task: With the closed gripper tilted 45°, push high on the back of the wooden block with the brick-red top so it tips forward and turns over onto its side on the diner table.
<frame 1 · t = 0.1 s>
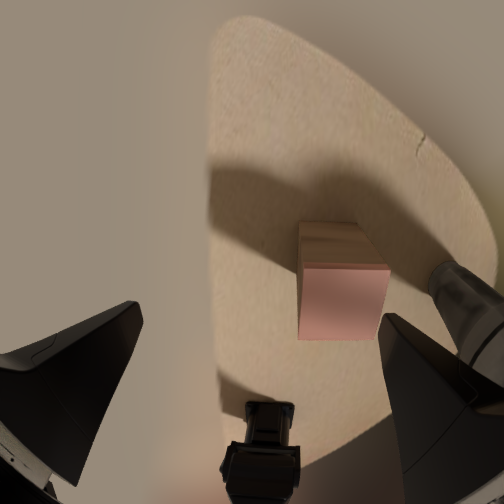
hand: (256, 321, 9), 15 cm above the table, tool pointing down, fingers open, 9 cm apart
beverage cup: (444, 280, 23), on the table
wooden block: (326, 249, 23), on the table
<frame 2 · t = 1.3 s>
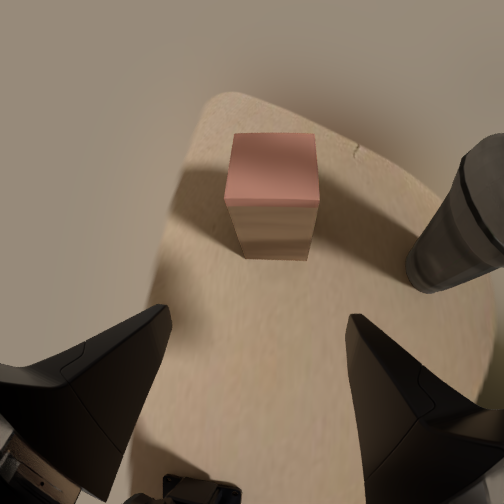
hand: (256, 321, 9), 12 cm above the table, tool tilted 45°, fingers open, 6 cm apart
beverage cup: (425, 269, 21), on the table
wooden block: (277, 232, 23), on the table
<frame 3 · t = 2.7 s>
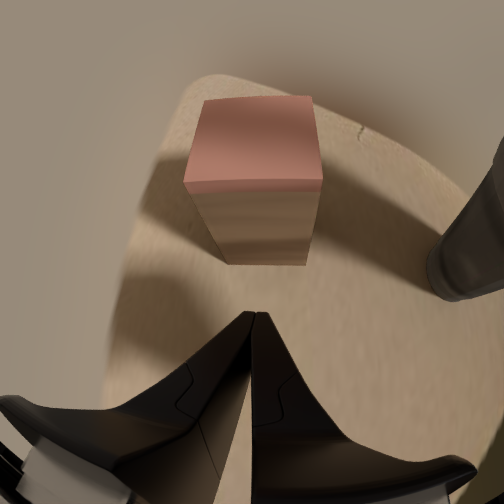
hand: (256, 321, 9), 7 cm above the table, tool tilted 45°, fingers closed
beverage cup: (449, 272, 16), on the table
wooden block: (267, 229, 19), on the table
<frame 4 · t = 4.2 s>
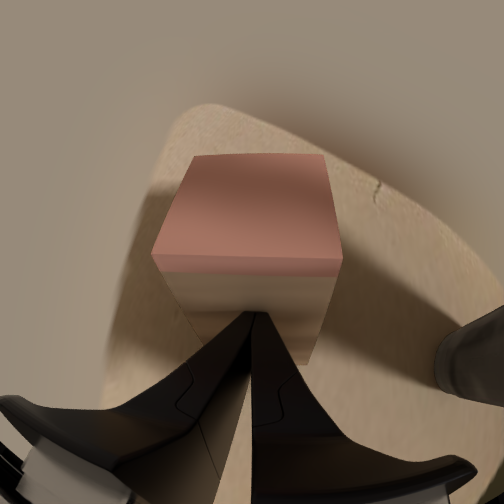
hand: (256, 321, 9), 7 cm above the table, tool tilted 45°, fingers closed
beverage cup: (457, 362, 13), on the table
wooden block: (263, 322, 15), point 1 cm above the table, tilted 17°
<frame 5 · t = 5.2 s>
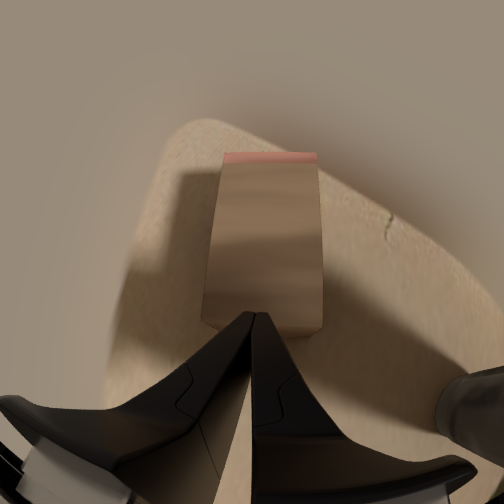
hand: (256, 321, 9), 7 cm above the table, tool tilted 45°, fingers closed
beverage cup: (458, 406, 12), on the table
wooden block: (264, 331, 13), point 2 cm above the table, tilted 90°
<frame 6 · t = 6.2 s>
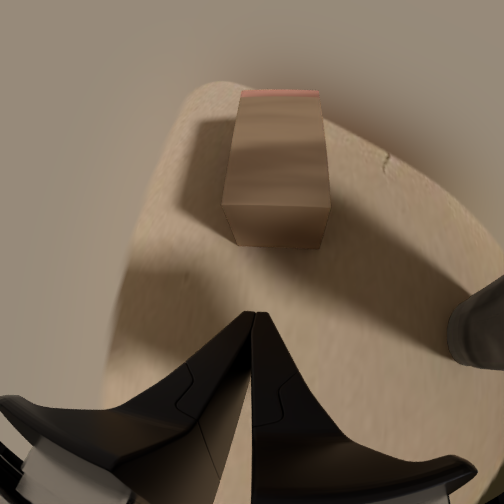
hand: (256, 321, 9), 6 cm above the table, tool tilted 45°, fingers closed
beverage cup: (469, 333, 13), on the table
wooden block: (277, 229, 15), point 2 cm above the table, tilted 90°
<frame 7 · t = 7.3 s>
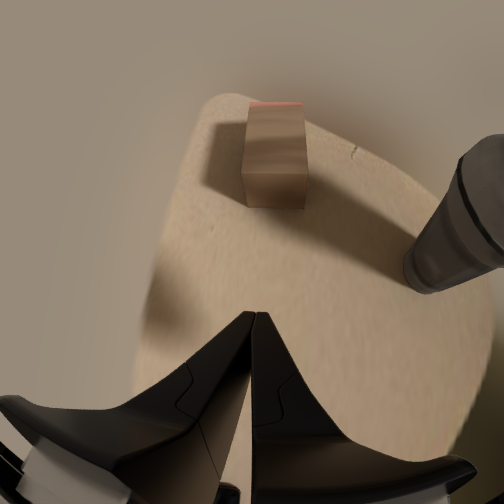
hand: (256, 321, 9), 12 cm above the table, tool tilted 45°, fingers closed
beverage cup: (423, 270, 21), on the table
wooden block: (275, 192, 22), point 2 cm above the table, tilted 90°
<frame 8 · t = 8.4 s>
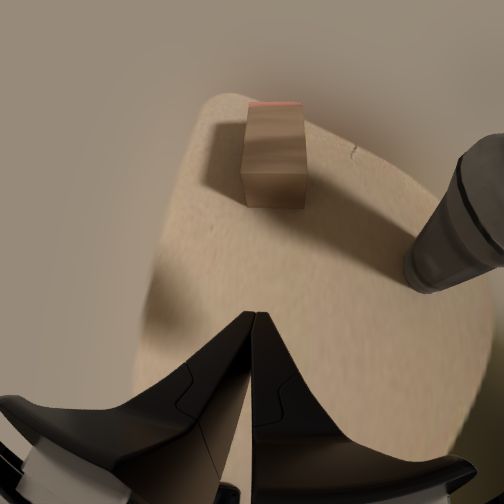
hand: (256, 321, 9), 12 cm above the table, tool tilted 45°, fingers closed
beverage cup: (423, 269, 21), on the table
wooden block: (274, 192, 22), point 2 cm above the table, tilted 90°
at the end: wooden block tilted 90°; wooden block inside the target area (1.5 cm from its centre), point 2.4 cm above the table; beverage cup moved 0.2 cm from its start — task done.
